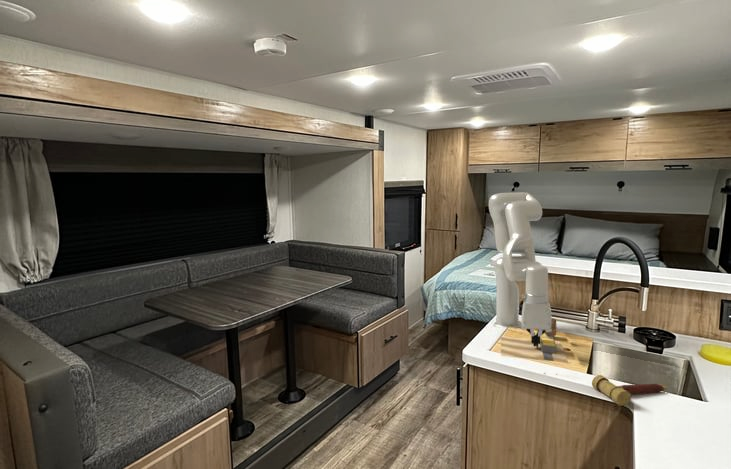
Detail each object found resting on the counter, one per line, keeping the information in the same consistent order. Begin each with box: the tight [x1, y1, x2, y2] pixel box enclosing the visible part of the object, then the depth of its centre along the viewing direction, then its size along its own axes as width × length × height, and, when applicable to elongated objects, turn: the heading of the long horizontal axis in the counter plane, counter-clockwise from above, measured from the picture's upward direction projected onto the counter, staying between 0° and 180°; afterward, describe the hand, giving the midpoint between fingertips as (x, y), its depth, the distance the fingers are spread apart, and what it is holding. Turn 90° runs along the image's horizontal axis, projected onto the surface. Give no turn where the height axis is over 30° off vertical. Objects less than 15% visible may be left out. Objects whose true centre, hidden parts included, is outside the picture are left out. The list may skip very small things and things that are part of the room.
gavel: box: [591, 374, 668, 407], centre depth 115 cm, size 21×5×10 cm
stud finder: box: [540, 337, 557, 354], centre depth 144 cm, size 7×5×3 cm
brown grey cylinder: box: [544, 317, 557, 340], centre depth 155 cm, size 4×4×9 cm
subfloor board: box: [500, 336, 569, 364], centre depth 146 cm, size 19×22×2 cm
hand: (535, 345), depth 146 cm, fingers closed
